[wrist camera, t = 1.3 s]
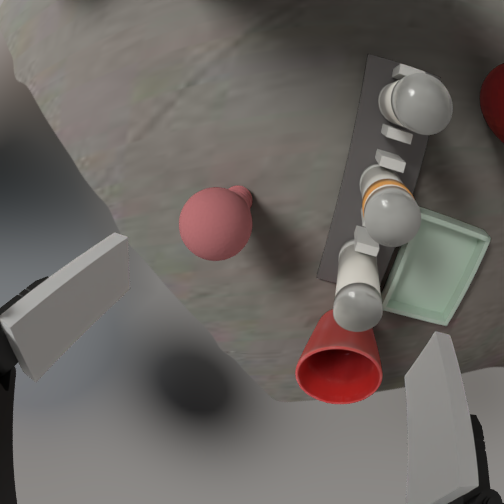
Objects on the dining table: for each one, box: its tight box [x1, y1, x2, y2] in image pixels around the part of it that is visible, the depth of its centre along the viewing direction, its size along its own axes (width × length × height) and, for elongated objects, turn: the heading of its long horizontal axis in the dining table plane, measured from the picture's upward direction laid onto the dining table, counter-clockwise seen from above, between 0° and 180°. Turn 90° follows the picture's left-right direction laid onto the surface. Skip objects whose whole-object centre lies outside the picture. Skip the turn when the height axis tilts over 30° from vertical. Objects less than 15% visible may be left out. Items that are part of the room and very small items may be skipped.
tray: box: [381, 207, 491, 326], centre depth 33 cm, size 13×10×2 cm
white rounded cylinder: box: [378, 73, 453, 135], centre depth 22 cm, size 4×4×11 cm
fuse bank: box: [316, 54, 441, 284], centre depth 29 cm, size 27×8×6 cm, turn 172°
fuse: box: [333, 238, 383, 332], centre depth 31 cm, size 4×4×11 cm
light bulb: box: [179, 186, 252, 261], centre depth 32 cm, size 7×7×12 cm
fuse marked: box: [359, 163, 421, 247], centre depth 26 cm, size 5×5×11 cm
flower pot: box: [295, 309, 383, 404], centre depth 38 cm, size 11×11×10 cm
